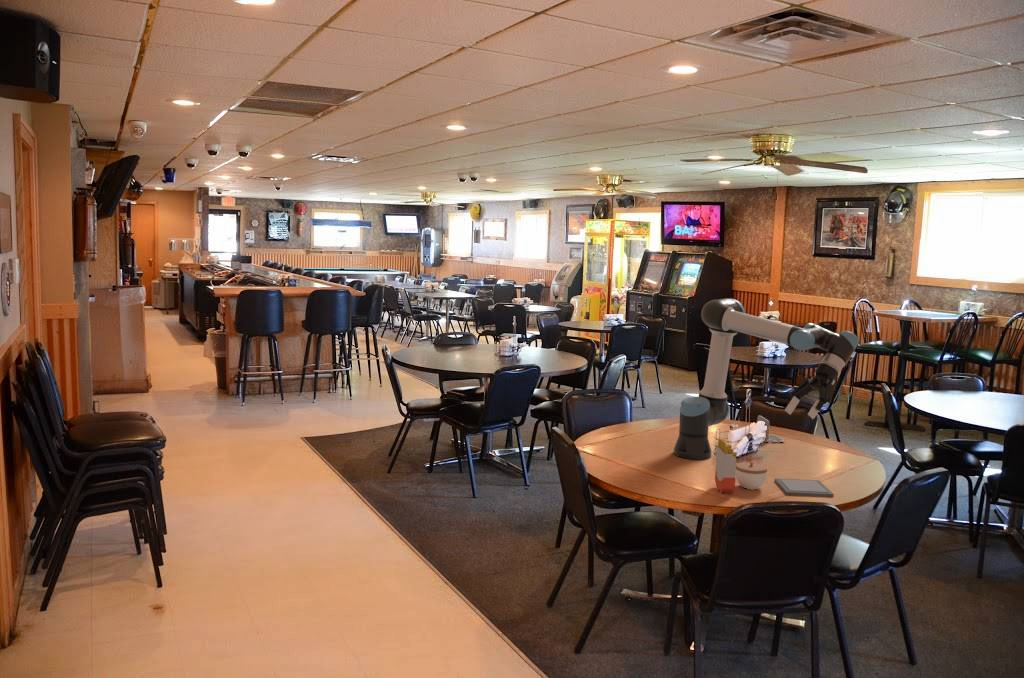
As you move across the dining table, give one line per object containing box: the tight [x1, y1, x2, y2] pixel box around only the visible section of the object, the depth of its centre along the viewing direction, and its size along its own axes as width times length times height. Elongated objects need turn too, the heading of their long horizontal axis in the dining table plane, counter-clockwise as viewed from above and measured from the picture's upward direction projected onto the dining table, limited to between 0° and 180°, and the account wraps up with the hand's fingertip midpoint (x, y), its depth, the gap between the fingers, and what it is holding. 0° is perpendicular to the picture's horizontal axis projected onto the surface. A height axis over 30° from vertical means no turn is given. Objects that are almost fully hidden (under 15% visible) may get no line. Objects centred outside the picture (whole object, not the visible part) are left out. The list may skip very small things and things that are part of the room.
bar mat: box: [774, 477, 834, 498], centre depth 278 cm, size 16×16×1 cm
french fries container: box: [714, 437, 738, 493], centre depth 273 cm, size 5×11×18 cm, turn 0°
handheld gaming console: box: [756, 415, 786, 443], centre depth 349 cm, size 13×9×10 cm
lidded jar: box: [735, 461, 768, 491], centre depth 278 cm, size 11×11×9 cm
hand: (798, 414), depth 284 cm, fingers open, 13 cm apart
